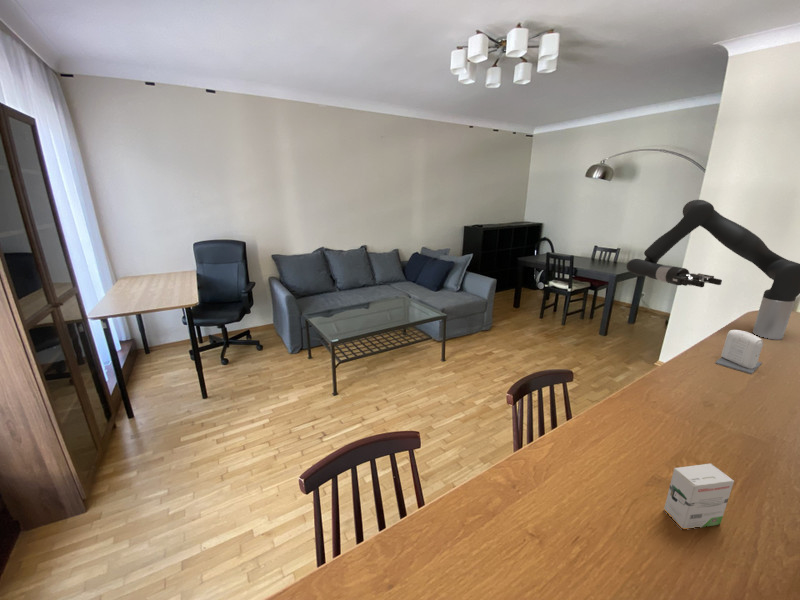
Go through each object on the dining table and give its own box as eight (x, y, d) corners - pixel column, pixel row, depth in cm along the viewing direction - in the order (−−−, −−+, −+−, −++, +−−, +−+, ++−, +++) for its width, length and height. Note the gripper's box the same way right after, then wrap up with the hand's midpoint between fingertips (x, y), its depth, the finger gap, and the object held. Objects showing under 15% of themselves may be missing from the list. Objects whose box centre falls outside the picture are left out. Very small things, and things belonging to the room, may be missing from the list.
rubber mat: (725, 354, 133) (726, 353, 133) (761, 364, 125) (761, 362, 125) (714, 363, 127) (715, 362, 127) (751, 374, 119) (751, 372, 119)
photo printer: (758, 368, 121) (768, 337, 118) (748, 369, 121) (757, 338, 117) (727, 355, 131) (735, 326, 127) (718, 356, 130) (726, 327, 127)
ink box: (698, 504, 72) (711, 461, 69) (722, 526, 68) (736, 480, 64) (661, 509, 72) (672, 465, 68) (682, 531, 67) (695, 486, 63)
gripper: (660, 268, 143) (700, 276, 128) (686, 264, 146) (728, 272, 131) (657, 284, 146) (695, 294, 131) (683, 281, 148) (724, 290, 133)
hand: (712, 283), depth 131 cm, fingers open, 8 cm apart
